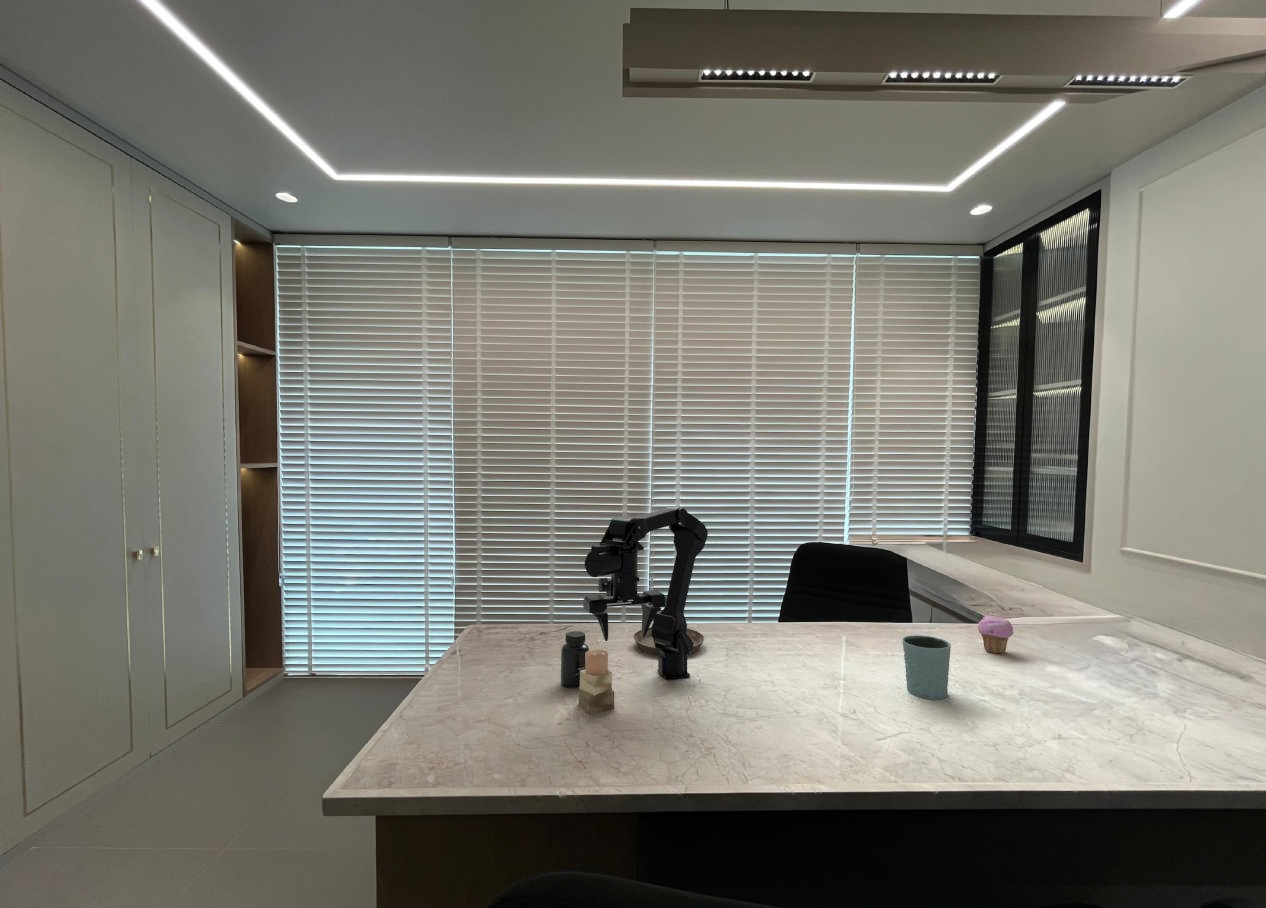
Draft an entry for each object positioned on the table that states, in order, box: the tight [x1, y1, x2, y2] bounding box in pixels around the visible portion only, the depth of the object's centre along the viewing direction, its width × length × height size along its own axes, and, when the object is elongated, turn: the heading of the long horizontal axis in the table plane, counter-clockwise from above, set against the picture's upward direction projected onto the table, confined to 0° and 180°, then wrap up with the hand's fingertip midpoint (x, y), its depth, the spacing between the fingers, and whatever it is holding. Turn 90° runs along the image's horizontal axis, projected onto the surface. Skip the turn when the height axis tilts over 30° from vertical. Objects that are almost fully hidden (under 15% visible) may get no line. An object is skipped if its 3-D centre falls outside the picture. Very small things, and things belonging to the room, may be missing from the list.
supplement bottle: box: [560, 630, 590, 689], centre depth 144 cm, size 7×7×12 cm
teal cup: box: [901, 634, 952, 701], centre depth 139 cm, size 10×10×12 cm
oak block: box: [580, 669, 613, 696], centre depth 130 cm, size 5×5×4 cm
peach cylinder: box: [585, 648, 609, 675], centre depth 130 cm, size 5×5×4 cm
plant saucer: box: [633, 626, 705, 656], centre depth 172 cm, size 21×21×3 cm
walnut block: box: [578, 687, 615, 715], centre depth 130 cm, size 6×6×4 cm
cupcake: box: [977, 615, 1014, 654], centre depth 169 cm, size 9×9×10 cm
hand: (625, 638), depth 137 cm, fingers open, 9 cm apart
